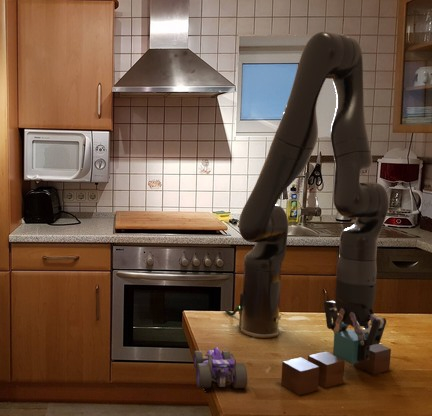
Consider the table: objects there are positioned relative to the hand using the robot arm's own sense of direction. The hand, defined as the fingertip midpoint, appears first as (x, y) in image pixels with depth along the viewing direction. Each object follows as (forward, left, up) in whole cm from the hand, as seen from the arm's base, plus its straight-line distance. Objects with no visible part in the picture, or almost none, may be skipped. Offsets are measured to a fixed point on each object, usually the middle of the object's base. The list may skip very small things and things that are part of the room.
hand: (350, 355), depth 111 cm
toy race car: (-12, -26, -4) cm, 29 cm away
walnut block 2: (0, -7, -4) cm, 8 cm away
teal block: (0, 0, 0) cm, 0 cm away
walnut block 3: (0, +7, -4) cm, 8 cm away
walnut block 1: (0, -14, -4) cm, 15 cm away
